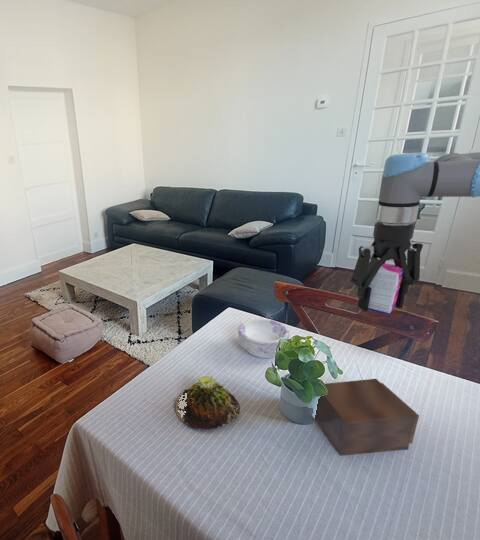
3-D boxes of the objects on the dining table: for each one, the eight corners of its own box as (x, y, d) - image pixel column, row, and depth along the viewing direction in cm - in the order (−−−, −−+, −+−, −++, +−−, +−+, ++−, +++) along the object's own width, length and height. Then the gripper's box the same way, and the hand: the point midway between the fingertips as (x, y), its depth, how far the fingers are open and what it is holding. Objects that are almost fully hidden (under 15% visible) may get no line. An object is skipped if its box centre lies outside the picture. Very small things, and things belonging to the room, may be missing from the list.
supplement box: (390, 315, 84) (398, 273, 80) (362, 308, 89) (368, 268, 85) (396, 307, 88) (404, 266, 84) (369, 300, 92) (376, 261, 88)
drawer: (382, 407, 83) (387, 382, 80) (417, 442, 73) (425, 414, 70) (322, 413, 83) (325, 388, 81) (349, 449, 73) (354, 421, 71)
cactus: (212, 380, 100) (211, 352, 97) (253, 413, 87) (254, 383, 83) (163, 403, 94) (161, 374, 90) (200, 443, 80) (199, 411, 77)
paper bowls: (229, 343, 117) (229, 323, 114) (268, 333, 120) (268, 314, 117) (256, 369, 103) (257, 346, 100) (299, 357, 106) (301, 335, 103)
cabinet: (370, 410, 84) (376, 378, 80) (408, 449, 73) (416, 414, 70) (311, 415, 84) (314, 384, 81) (340, 455, 73) (345, 421, 70)
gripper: (426, 214, 83) (409, 297, 91) (340, 223, 84) (330, 304, 92) (454, 220, 76) (433, 310, 84) (360, 230, 77) (348, 317, 85)
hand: (379, 307), depth 88 cm, fingers closed on supplement box, 8 cm apart
